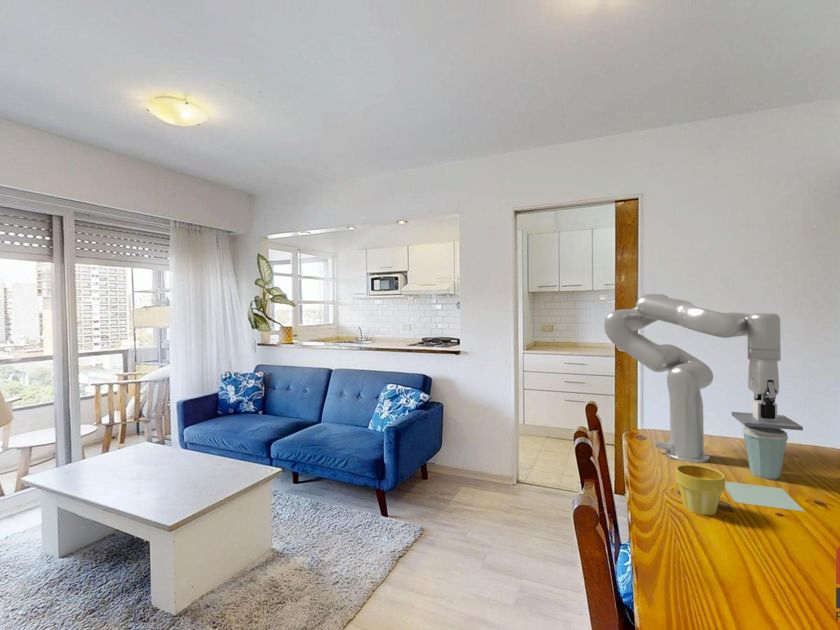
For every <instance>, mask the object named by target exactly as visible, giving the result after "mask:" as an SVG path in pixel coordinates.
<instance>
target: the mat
mask: <svg viewBox="0 0 840 630" xmlns="http://www.w3.org/2000/svg"><path fill="white" fill-rule="evenodd" d="M725 490H726V492H728V494H729V495H730V496H731V498H732V499H733V501H734V502H735V503H738V504H745V505H753V506H760V507H767V508H774V509H775V508H776V509H783V510H787V511H789V510H790V511H797V512H804V513H806V511H805V510H804V509H803V508H802V507H801V506H800V505H799V503H797V502H796V500H794V499H793V498H792V497H791V496H790V495H789V494H788V493H787V492H786V491H785V490H784V489H783V488H782V487H774V486H773V487H772V486H766V485H756V484H751V483H750V484H749V483H743V482H742V483H741V482H733V481H725Z"/></svg>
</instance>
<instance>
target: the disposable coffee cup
mask: <svg viewBox="0 0 840 630" xmlns="http://www.w3.org/2000/svg"><path fill="white" fill-rule="evenodd" d="M741 430H742V431H741V432H742V433H743V438H744V443H745V444H744V445H745V449H746V454H747V458H748V459H747V460H748V465H749V472H750V473H751V474H752V475H754V476H755V477H757V478H760V479H765V480H774V481H775V480H778V479H779V478H780V477H781V473H782V467H783V461H784V458H785V451H786V448H787V447H786V446H787V441H788V440H789V435H788V433H787V432H786V431H785V430H784V429H777V428H764V427H751V426H743V427H742V429H741Z"/></svg>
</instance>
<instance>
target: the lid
mask: <svg viewBox="0 0 840 630" xmlns="http://www.w3.org/2000/svg"><path fill="white" fill-rule="evenodd" d="M761 404H762V400H754V399H752V412H740V411H739V412H738V411H737V412H735V411H731V416H732V417H733V418H735V419H736V420H737V421H738V422H739V423H740V424H742V425H743V427H745V426H751V427H764V428H777V429H781V430H791V431H792V430H793V431H804V427H803V425H800V424H799V423H797V422H795V421H794V420H792V419H790V418H788V417H787V416H785V415H783V414H782V415H781V414H778V404H777V403H776V402H775V419H765V418H761Z"/></svg>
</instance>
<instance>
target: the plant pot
mask: <svg viewBox="0 0 840 630" xmlns="http://www.w3.org/2000/svg"><path fill="white" fill-rule="evenodd" d="M674 470H675V481H676V483H677V484H678V487H679V491H680V495H681V499H682V503H683V507H684V509H686V510H687V511H690V512H692V513H693V514H698V515H703V516H714V515H716V514H717V510H718V506H719V503H720V499H721V495H722V493H723V492H724V491H725V490H726V488H725V482H726V476H725V474H724V473H722V472H721V471H719V470H717V469H715V468H712V467H708V466H704V465H699V464H691V463H690V464H688V463H687V464H680V465H679V464H678V465H677V466H676V467H675V469H674Z"/></svg>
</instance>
